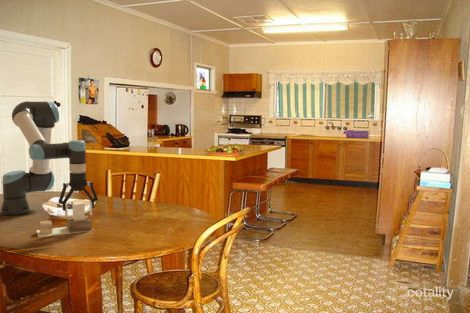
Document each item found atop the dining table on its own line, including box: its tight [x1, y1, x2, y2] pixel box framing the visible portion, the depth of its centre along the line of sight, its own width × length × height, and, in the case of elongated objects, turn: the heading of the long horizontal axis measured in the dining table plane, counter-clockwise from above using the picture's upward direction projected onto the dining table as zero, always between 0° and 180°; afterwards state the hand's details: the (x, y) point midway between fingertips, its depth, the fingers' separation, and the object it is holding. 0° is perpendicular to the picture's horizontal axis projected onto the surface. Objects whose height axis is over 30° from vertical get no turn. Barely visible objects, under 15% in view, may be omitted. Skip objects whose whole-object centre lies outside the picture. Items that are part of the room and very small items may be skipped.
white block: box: [71, 201, 86, 221], centre depth 213 cm, size 5×5×8 cm
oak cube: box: [39, 220, 53, 235], centre depth 206 cm, size 5×5×5 cm
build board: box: [36, 226, 89, 238], centre depth 210 cm, size 12×24×1 cm, turn 118°
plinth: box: [66, 215, 92, 234], centre depth 213 cm, size 10×10×5 cm
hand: (78, 215), depth 213 cm, fingers open, 11 cm apart
